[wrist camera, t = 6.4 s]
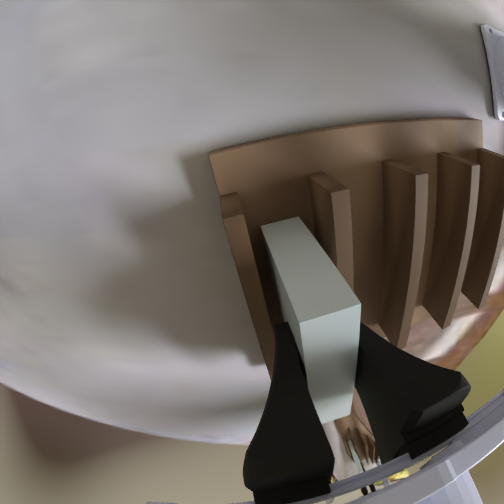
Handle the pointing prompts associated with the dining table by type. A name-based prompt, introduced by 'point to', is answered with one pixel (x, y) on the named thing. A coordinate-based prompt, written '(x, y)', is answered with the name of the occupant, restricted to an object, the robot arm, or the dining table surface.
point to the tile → (315, 314)
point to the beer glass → (355, 451)
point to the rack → (371, 216)
